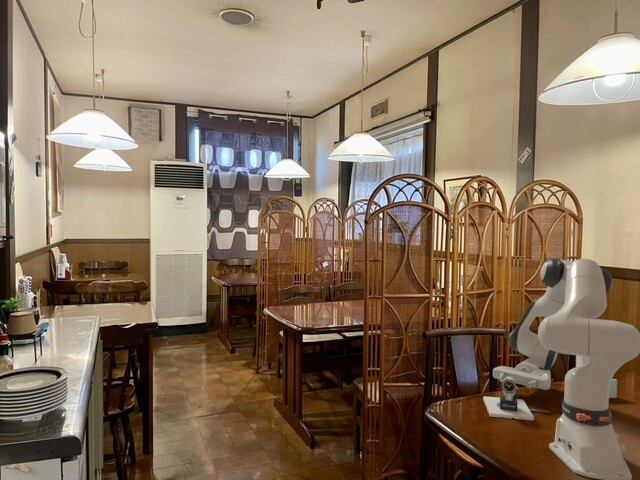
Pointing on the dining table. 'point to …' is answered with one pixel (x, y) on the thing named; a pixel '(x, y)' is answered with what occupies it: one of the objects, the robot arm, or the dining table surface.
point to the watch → (508, 395)
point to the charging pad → (495, 410)
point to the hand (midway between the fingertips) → (514, 382)
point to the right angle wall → (613, 389)
